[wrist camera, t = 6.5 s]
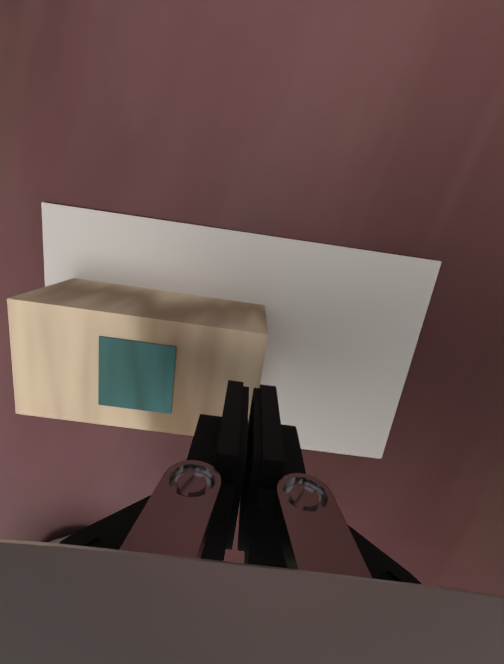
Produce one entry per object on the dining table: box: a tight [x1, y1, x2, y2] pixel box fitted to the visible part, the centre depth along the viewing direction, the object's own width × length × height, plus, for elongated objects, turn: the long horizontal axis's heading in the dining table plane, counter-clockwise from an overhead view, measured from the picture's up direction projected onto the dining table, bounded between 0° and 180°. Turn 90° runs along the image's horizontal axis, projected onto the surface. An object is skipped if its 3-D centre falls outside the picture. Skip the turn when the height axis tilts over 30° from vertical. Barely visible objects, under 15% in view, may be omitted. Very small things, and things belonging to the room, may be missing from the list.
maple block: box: [7, 278, 268, 436], centre depth 16 cm, size 5×5×10 cm
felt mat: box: [42, 202, 442, 459], centre depth 19 cm, size 20×12×1 cm, turn 82°
